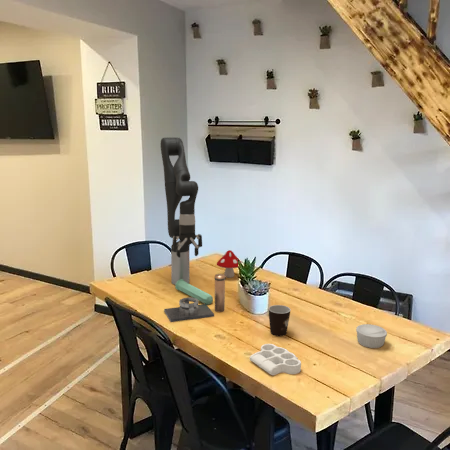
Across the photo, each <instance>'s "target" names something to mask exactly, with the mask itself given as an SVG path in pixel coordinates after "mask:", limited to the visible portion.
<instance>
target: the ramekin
mask: <svg viewBox="0 0 450 450" xmlns="http://www.w3.org/2000/svg"><path fill="white" fill-rule="evenodd" d="M355 330H356V339H357V342H358V344H359V345H361V346H363V347H365V348H369V349H370V348H371V349H378V348H381V347H382V346H384V344H385V341H386V338H387V335H388V332H387V330H386V329H385V328H383V327H382V326H379V325H376V324H371V323H370V324H369V323H367V324H366V323H364V324H359V325H357V327H356V329H355Z"/></svg>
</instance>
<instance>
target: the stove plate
mask: <svg viewBox="0 0 450 450" xmlns="http://www.w3.org/2000/svg"><path fill="white" fill-rule="evenodd" d="M178 302H179V303H178V304H179V306H176V307H167V308H163V309H164V310H163V312H164V314H165V315H166V317H167V319H168V320H169V322H170V323H176V322H184V321H190V320H197V319H198V320H199V319H205V318H214V317H215V313H214V312H213V311H212V309H211V308H210V306H208V305H206V304H204V303H202V304H200V303H199V302H200V301H198V299H196V298H193V297H191V296H189V297H182V298H181V299H179V301H178Z"/></svg>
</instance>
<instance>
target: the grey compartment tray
mask: <svg viewBox="0 0 450 450" xmlns="http://www.w3.org/2000/svg"><path fill="white" fill-rule="evenodd" d="M249 361H251V362H253V363H254V364H255V365H257V367H259V368H260V369H262V370H264V371H265V372H266V373H268V374H269V375H271V376H276V375H278V374H280V373H281V374H283V373H285V374H288V375H298V374H300V373H301V372H302V371H301V369H302V362H301V360H300V359H299V357H297V356H296V354H294V352H290V351H289V350H288V349H286V348H284V347H280V346H277V345H275V344H273V343H264V344H262V345H261V346H260V350H259V351H256V352H255V353H253V354H251V355H250V356H249Z"/></svg>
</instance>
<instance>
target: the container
mask: <svg viewBox="0 0 450 450" xmlns="http://www.w3.org/2000/svg"><path fill="white" fill-rule="evenodd" d="M174 287H175V289H176V290H177V291H180V292H182V293H183V294H186V295H187V296H189V297H190V298H196V299H198V301H199V302H200V303H202V304H206V305H207V306H208V305H211V304H212V303H213V301H214V298H213V296H212V295H211V294H209V293H208V292H206V291H204V290H203V289H202V290H201V289H200V288H198V287H196V286H194V285H192V284H190V283H189V284H188V283H187V282H185V281H184V280H183V279H181V280H178V281H177V282H176V285H175V286H174Z"/></svg>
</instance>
